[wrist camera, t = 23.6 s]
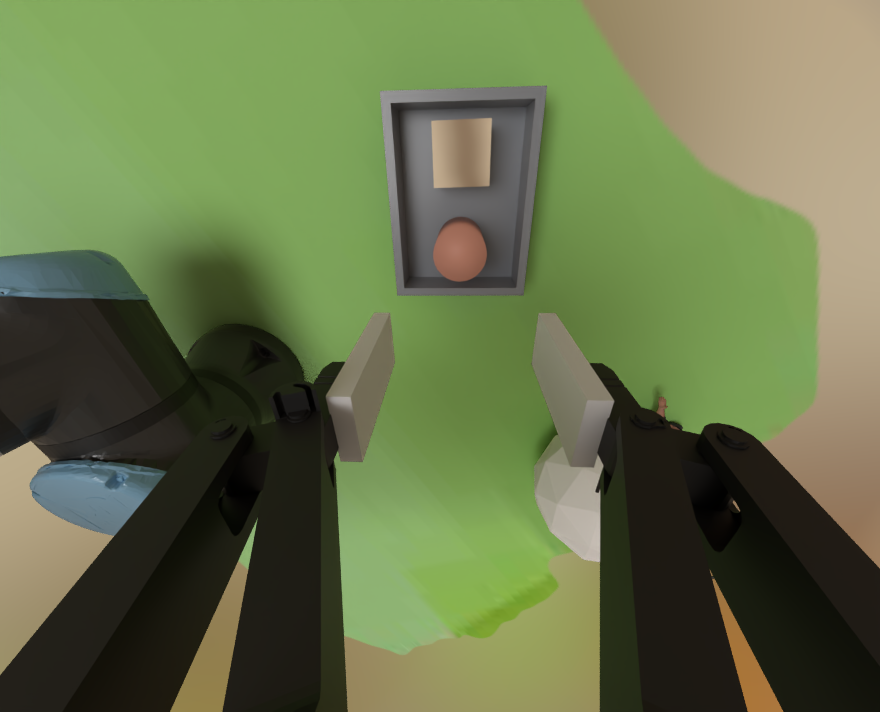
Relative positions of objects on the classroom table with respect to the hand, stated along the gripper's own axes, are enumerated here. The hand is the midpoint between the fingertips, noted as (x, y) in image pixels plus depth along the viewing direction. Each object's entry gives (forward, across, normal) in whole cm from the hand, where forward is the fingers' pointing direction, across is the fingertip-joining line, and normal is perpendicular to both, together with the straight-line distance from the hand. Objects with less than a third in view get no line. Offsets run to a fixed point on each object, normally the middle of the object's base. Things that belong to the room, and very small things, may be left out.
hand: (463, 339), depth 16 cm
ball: (+25, +22, -30) cm, 45 cm away
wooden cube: (+24, 0, +8) cm, 26 cm away
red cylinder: (+24, 0, 0) cm, 24 cm away
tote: (+25, 0, +4) cm, 25 cm away
